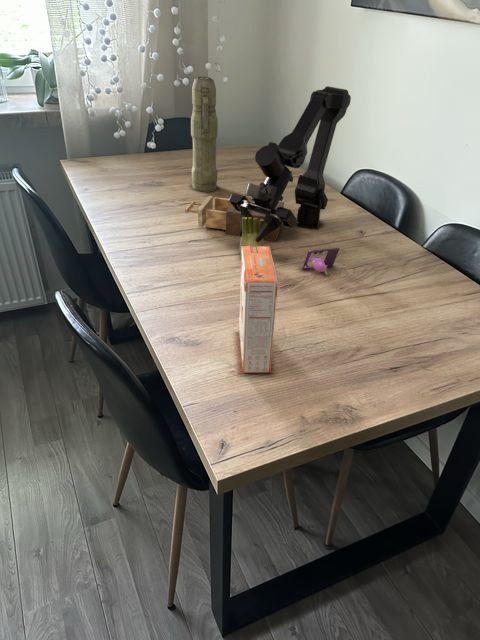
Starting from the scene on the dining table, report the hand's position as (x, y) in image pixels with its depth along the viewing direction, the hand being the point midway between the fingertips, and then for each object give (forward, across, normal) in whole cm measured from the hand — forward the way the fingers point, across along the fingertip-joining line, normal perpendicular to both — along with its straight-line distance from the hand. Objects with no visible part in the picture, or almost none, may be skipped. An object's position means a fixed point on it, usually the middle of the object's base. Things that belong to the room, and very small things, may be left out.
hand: (248, 238), depth 133 cm
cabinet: (-9, -11, +18) cm, 23 cm away
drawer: (-6, -21, +15) cm, 26 cm away
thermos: (-21, -45, +31) cm, 58 cm away
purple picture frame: (-1, +18, +10) cm, 21 cm away
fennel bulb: (+4, 0, +6) cm, 7 cm away
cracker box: (+28, +25, -18) cm, 41 cm away
